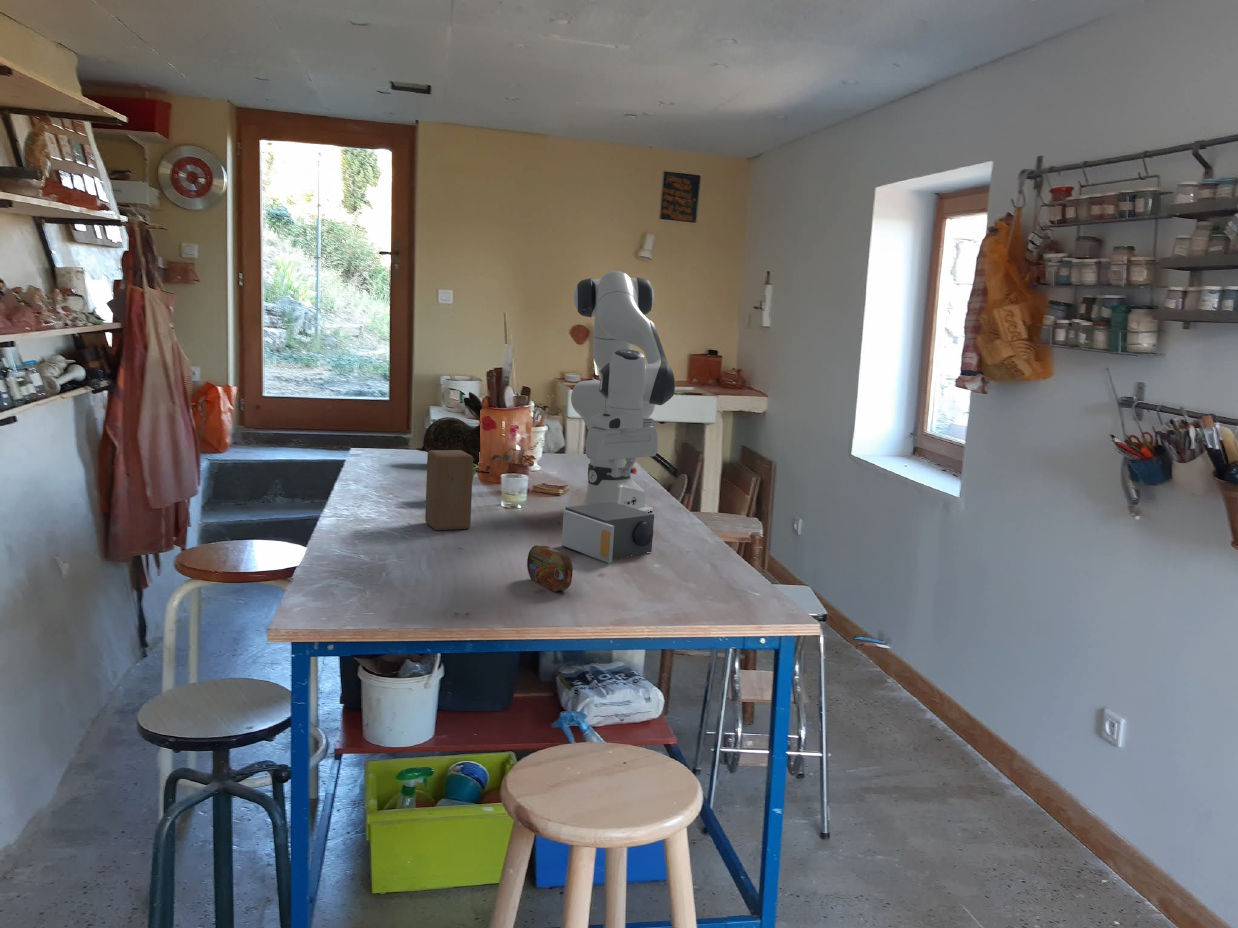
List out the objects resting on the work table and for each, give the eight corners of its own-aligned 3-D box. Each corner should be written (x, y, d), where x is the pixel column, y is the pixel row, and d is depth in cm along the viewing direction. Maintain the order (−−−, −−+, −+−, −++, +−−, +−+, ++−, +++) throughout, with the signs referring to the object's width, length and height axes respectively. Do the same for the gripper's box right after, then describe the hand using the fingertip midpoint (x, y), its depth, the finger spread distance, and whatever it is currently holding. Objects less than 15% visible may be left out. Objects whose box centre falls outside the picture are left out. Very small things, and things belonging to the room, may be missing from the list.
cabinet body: (610, 538, 253) (613, 501, 251) (654, 553, 240) (657, 515, 239) (563, 545, 242) (565, 507, 241) (606, 561, 230) (609, 521, 228)
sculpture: (474, 477, 323) (477, 397, 319) (412, 465, 339) (414, 388, 334) (509, 471, 339) (513, 395, 335) (449, 459, 355) (452, 386, 350)
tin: (525, 577, 213) (527, 541, 211) (537, 576, 214) (539, 539, 213) (561, 596, 201) (563, 558, 199) (573, 594, 203) (576, 556, 201)
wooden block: (434, 531, 247) (437, 456, 244) (424, 522, 256) (426, 449, 253) (471, 529, 252) (474, 455, 249) (459, 521, 261) (462, 449, 257)
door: (564, 544, 241) (566, 510, 240) (611, 562, 228) (614, 525, 226) (559, 545, 240) (561, 510, 239) (606, 563, 227) (609, 526, 225)
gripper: (648, 416, 234) (644, 471, 236) (583, 418, 220) (579, 477, 223) (665, 419, 229) (661, 475, 231) (600, 422, 216) (596, 481, 218)
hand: (620, 476), depth 227 cm, fingers closed
